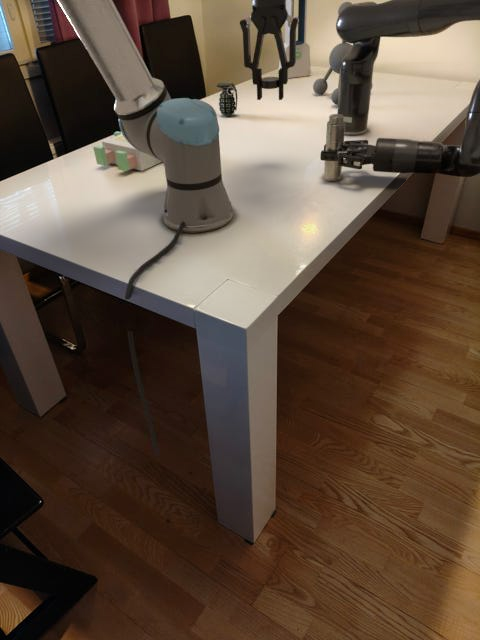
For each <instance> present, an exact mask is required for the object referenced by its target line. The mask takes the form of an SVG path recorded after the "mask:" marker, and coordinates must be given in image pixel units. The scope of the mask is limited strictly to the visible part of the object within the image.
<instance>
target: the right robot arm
mask: <svg viewBox="0 0 480 640" xmlns="http://www.w3.org/2000/svg"><path fill="white" fill-rule="evenodd" d="M471 21H480V0H387V1H384V2H381V3H376V2H375V1H363V2H356V3H352V4H351V5H349V6H347V7H346V8H344V9H343V10H342V11H341V13H340V14H339V15H338V16H337V18H336V22H335V30H336V32H337V35H338V37H339V38H340V40H341V41H342V40H343V41H345V42H346V43H349V44H352V48H351V50H350V51H349V52H348V54H346V55H345V56H344V57H343V58H342V60H341V70H340V85H339V99H338V105H337V111H336V112H337V113H336V114H341V115H343V116H344V120H343V121H344V122H345V133H344V136H345V135H346V136H357V135H363V134H365V133H366V132H367V131H368V122H369V113H370V106H371V105H370V103H371V95H372V89H371V86H372V87H373V76H374V65H375V62H376V60H377V58H378V55H379V51H380V44H381V43H380V42H381V39H382V38H416V37H417V38H418V37H429V36H434V35H438V34H441V33H443V32H445V31H447V30H448V29H449V28H451V27H452V26H454V25H456V24H459V23H463V22H471ZM461 138H462V139H461V142H460V145H459V144H458V145H457V144H456V145H455V144H444V143H442V142H439V141H430V140H415V139H408V138H391V137H390V138H387V137H378V138H377V139H376V141H375V145H374V144H369V140H368V139H359V140H344V145H343V151H326V143H325V144H324V146H323V150H321V151H320V159H319V160H321V161H324V162H325V161H336V163H338V166H342V168H348V169H355V170H362V169H363V166H365V165H372V170H373V172H376V173H377V172H378V173H391V174H392V173H394V174H412V173H413V174H427V175H428V174H439V175H445V176H453V177H461V178H471V177H472V178H473V177H474V176H478V175H479V174H480V78H479V79H478V81H477V83H476V85H475V87H474V88H473V92H472V94H471V98H470V101H469V105H468V109H467V113H466V115H465V120H464V131H463V135H462V137H461Z"/></svg>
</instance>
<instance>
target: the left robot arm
mask: <svg viewBox="0 0 480 640" xmlns="http://www.w3.org/2000/svg"><path fill="white" fill-rule="evenodd" d="M56 1H57V2H58V4H59V6H60V7H61V9H62V11H63V13H64V14H65V15H66V18H67V19H68V21H69V22H70V24H71V26H72V27H73V29H74V31H75V33H76V35H77V36H78V38H79V39H80V41H81V43H82V44H83V46H84V48H85V49H86V51H87V52H88V55H89V56H90V58H91V59H92V61H93V63H94V65H95V66H96V68H97V69H98V71H99V73H100V74H101V76H102V78H103V80H104V81H105V83H106V84H107V87H108V88H109V90H110V91H111V93H112V95H113V96H114V98H115V101H114V105H113V110H114V112H115V114H116V116H117V117H118V125H119V129H120V132H121V134H123V136H124V137H125V139H126V140H127V141H128V142H129V143H130V144H131V145H132V146H133V147H134V148H135V149H137V150H139V151H141V152H143V153H146V154H148V155H150V156H152V157H154V158H157V159H159V160H161V161H162V163H163V168H164V174H165V180H166V190H165V191H166V192H165V196H164V203H163V207H162V218H163V222H164V224H165V226H167V227H168V228H169V229H171V230H173V231H176V233H175V234H174V236H173V238H172V240H171V241H170V243H168V245H166V246H165V247H164V248H163V249H161V250H160V251H159V252H158V253H157V254H155V255H154V256H152V257H151V258H149V259H148V260H147V261H145V262H144V263H142V264H141V265H140V266H139V267H138V268H137V269H136V270H135V272H134V273H133V274H132V275H131V276H130V278H129V279H128V282H127V285H126V291H125V296H124V300H129V299H131V296H132V290H133V285H134V283H135V280H136V279H137V278H138V277H139V276H140V274H142V272H143V271H144V270H145V269H146V268H148V267H149V266H151V265H152V264H153V263H155V262H156V261H158V260H159V259H160V258H162V257H163V256H164V255H165V254H166V253H167V252H169V251H170V250H171V249H172V248H173V247H174V246H175V245H176V243H177V242H178V240H179V238H180V235H181V234H182V233H190V234H191V233H192V234H193V233H194V234H195V233H196V234H197V233H205V232H206V233H207V232H210V231H215V230H216V229H220V228H222V227H224V226H226V225H227V224H228V223H230V221H231V220H232V218H233V216H234V212H233V211H234V210H233V205H232V201H231V200H230V197H229V195H228V192H227V190H226V187H225V184H224V182H223V175H222V174H223V173H222V161H221V159H222V158H221V147H220V146H221V145H220V126H219V120H218V115H217V111H216V109H215V108H214V107H213V106H212V105H211V104H210V103H208V102H206V101H204V100H201V99H197V98H192V99H190V98H189V97H181V98H179V97H178V98H171V95H170V93H169V92H168V90H167V87H166V86H165V84H164V82H163V80H161V79H158V78H155V77H153V76H152V74H151V72H150V71H149V69H148V67H147V65H146V63H145V61H144V59H143V58H142V55H141V54H140V51H139V50H138V47H137V45H136V44H135V42H134V40H133V38H132V36H131V33H130V31H129V30H128V28H127V26H126V24H125V22H124V20H123V18H122V15H121V14H120V12H119V11H118V9H117V7H116V5H115V3H114V1H113V0H56ZM251 7H252V9H251V12H250V16H248V17H246V18H242V19H241V20H240V21H239V26H240V29H241V31H242V44H243V45H242V49H243V66H244V67H245V69H249V70H251V75H252V77H251V78H252V79H251V80H252V84H253V85H254V86H255V85H256V100H257V101H261V99H262V98H263V88H261V86H260V82H261V79H262V78H263V76H262V75H263V74H262V71H263V70H262V68H260V60H261V54H262V49H263V45H264V44H263V43H264V39H265V35H268V34H270V35H273V37H274V40H275V44H276V48H277V53H278V58H279V61H280V62H281V67H282V68H280V70H279V69H278V78H279V87H278V101H282V100H283V99H284V85H288V82H289V78H288V68H290V67H293V66H294V65H295V63H296V41H297V29H298V22H299V18H298V16H294V15H293V16H290V15H288V12H287V10H286V0H251ZM286 20H287V21H288V26H289V27H290V40H289V61H288V62H287V57H286V52H285V47H284V43H285V42H284V39H283V32H282V31H283V30H282V28H283V26H285V21H286ZM252 24H253V25H254V26H255V28H256V30H257V32H256V33H257V34H256V41H255V47H254V51H253V58H252V48H251V30H250V29H251V27H252ZM253 85H252V86H253ZM126 331H127V338H128V339H127V340H128V346H129V351H130V357H131V362H132V367H133V371H134V372H133V373H134V376H135V377H134V378H135V380H136V384H137V388H138V392H139V397H140V400H141V404H142V407H143V408H142V409H143V412H144V415H145V418H146V422H147V427H148V430H149V434H150V438H151V441H152V445H153V450H154V454H155V457H156V458H159V457H160V455H161V454H160V451H159V446H158V441H157V437H156V434H155V430H154V426H153V425H154V424H153V422H152V418H151V415H150V414H151V413H150V410H149V406H148V403H147V399H146V395H145V391H144V390H145V389H144V386H143V383H142V377H141V373H140V370H139V369H140V368H139V365H138V359H137V354H136V348H135V341H134V334H133V333H134V332H133V331H131V330H126Z"/></svg>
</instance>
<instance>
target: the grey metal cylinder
mask: <svg viewBox="0 0 480 640" xmlns="http://www.w3.org/2000/svg"><path fill="white" fill-rule="evenodd" d="M343 120H344V116H343V115H341V114H337V113H332V114H330V115H329V116H328V121H327V122H326V133H325V135H326V137H325V144H326V151H343V145H344V141H345V134H344V133H345V122H344V121H343ZM342 169H343V166H338V163H336V161H324V168H323V180H325V181H327V182H338V181H341V180H342Z"/></svg>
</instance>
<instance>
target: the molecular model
mask: <svg viewBox="0 0 480 640" xmlns="http://www.w3.org/2000/svg"><path fill="white" fill-rule="evenodd" d="M351 4H353V3H352V2H351V1H345V2H342V3H341V4H340V5H339V7H338V10H337V15H338V16H339V14H340V13H341V11H342V10H343V9H344V8H346V7H347V6H349V5H351ZM352 46H353V44H352V43H347V42H345V41H343V40H342V39H341V42H340V43H338V44H337V45H335V46H334V47H333V48H332V49H331V52H330V53H329V57H328V63H329V66H330V67H329V69H328V70H327V72H326V73H325V75H324V77H323V78H317V79H316V80H315V81H314V82H313V85H312V90H313V92H314V93H315V94H316V95H319V96H321V95H324V94H325V93H326V92H327V90H328V88H329V84H328V81H327V80H328V79H329V77H330V76H331V74H332V72H334V73H336V74H339V75H338V85H337V88H335V89H334V90H333V91H332V93H331V97H330V99H331V101H332V103H333V104H334V105H335V106H338V99H339V85H340V70H341V60H342V58H343V57H344V56H345V55H346V54H348V52H349V51H350V50H351V48H352ZM372 89H373V85H372V86H371V90H372Z"/></svg>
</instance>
